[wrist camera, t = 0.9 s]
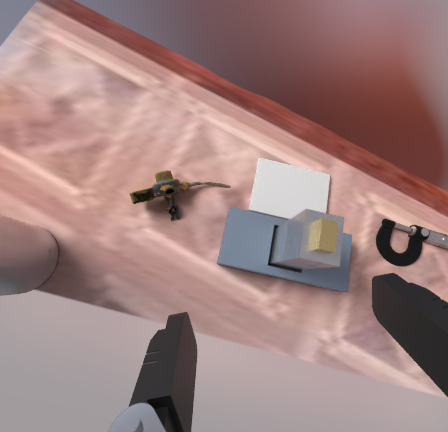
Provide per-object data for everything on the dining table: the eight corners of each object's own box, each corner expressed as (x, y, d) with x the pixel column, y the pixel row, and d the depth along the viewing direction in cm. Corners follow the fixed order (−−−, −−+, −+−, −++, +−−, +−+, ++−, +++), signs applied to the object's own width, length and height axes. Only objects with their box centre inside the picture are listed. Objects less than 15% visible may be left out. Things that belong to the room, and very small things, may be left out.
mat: (248, 210, 37) (249, 209, 37) (258, 159, 40) (259, 157, 39) (322, 227, 38) (324, 227, 37) (328, 176, 40) (330, 174, 39)
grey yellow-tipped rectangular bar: (265, 264, 36) (304, 256, 22) (270, 231, 37) (311, 205, 23) (291, 270, 36) (347, 266, 22) (295, 237, 37) (351, 214, 23)
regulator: (224, 168, 40) (127, 174, 35) (232, 164, 36) (125, 171, 32) (228, 213, 40) (134, 225, 36) (237, 214, 37) (133, 228, 32)
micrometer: (371, 258, 38) (383, 256, 35) (377, 216, 39) (388, 212, 37) (461, 287, 38) (479, 288, 35) (463, 244, 40) (480, 241, 37)
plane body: (216, 263, 35) (218, 262, 32) (228, 212, 37) (230, 206, 34) (335, 290, 35) (347, 291, 33) (340, 238, 37) (352, 234, 35)
